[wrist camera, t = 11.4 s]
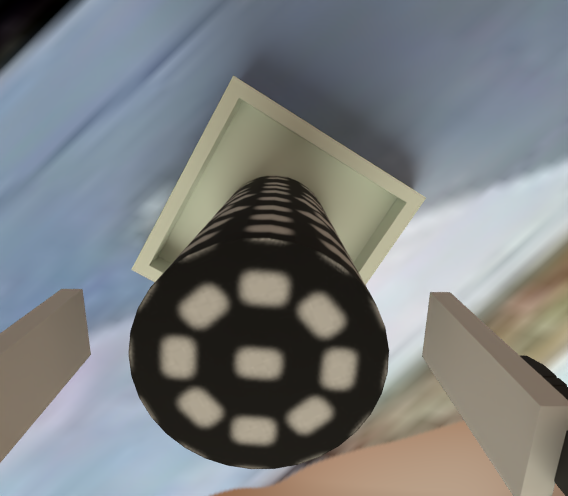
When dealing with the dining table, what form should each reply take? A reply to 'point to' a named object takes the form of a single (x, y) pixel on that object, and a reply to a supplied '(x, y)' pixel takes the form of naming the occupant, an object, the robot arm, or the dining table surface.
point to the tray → (283, 162)
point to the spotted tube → (260, 335)
